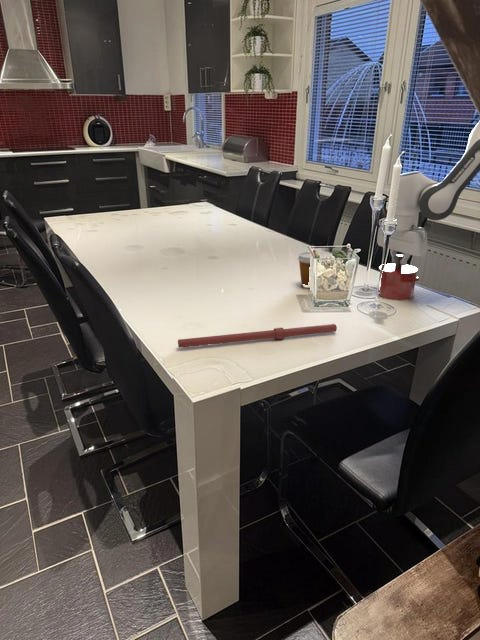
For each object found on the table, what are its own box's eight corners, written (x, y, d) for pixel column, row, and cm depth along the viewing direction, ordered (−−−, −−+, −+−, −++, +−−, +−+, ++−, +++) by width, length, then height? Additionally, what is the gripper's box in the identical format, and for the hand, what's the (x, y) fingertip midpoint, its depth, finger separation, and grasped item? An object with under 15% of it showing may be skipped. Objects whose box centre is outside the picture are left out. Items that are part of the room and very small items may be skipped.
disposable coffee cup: (298, 290, 172) (299, 258, 167) (296, 282, 181) (296, 252, 176) (324, 289, 172) (326, 257, 167) (320, 282, 180) (322, 251, 176)
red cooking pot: (392, 287, 172) (394, 262, 169) (426, 300, 158) (430, 273, 154) (366, 291, 168) (368, 266, 165) (399, 306, 154) (402, 278, 150)
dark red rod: (333, 330, 136) (333, 320, 134) (337, 334, 133) (338, 324, 132) (178, 346, 127) (177, 336, 126) (179, 351, 124) (178, 340, 123)
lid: (398, 265, 168) (400, 249, 165) (425, 273, 157) (427, 257, 155) (371, 269, 163) (372, 253, 160) (396, 278, 152) (398, 261, 150)
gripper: (434, 227, 146) (428, 270, 151) (390, 218, 163) (386, 256, 169) (419, 229, 144) (413, 272, 149) (375, 219, 161) (372, 258, 166)
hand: (398, 264), depth 159 cm, fingers closed on lid, 2 cm apart
